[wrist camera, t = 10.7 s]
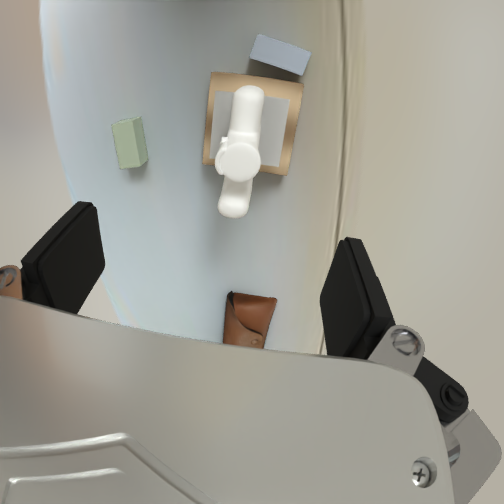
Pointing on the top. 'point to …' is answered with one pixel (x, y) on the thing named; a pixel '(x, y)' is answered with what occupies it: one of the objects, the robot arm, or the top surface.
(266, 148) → the figurine
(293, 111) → the oak pedestal
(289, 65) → the brick slate
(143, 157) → the brick sage
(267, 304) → the sunglasses case
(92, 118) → the top surface
